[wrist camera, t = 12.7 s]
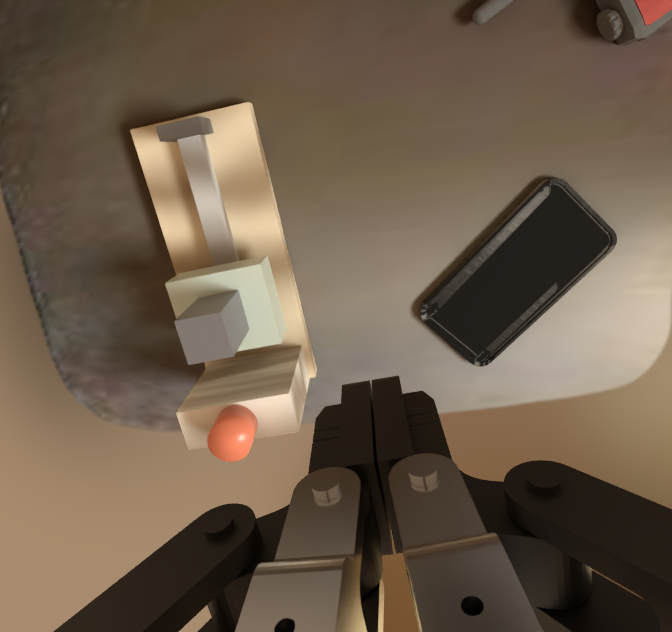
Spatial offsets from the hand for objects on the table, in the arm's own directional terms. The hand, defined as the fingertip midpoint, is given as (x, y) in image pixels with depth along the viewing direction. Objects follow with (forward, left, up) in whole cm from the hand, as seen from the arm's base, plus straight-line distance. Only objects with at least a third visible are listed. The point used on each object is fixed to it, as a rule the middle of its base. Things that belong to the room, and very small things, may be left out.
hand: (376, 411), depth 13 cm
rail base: (0, -11, -29) cm, 30 cm away
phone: (+6, +11, -29) cm, 32 cm away
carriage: (+3, -11, -25) cm, 27 cm away
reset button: (+9, -11, -18) cm, 23 cm away
